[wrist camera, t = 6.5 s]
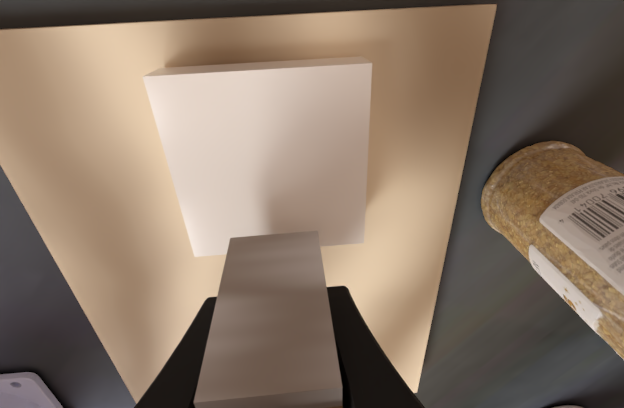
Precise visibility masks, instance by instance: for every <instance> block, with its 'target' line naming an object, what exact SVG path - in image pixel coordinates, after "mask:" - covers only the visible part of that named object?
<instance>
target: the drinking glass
mask: <svg viewBox="0 0 624 408" xmlns="http://www.w3.org/2000/svg"><path fill="white" fill-rule="evenodd" d="M552 408H583V407H580V406H576V405H563V406H557V407H552Z"/></svg>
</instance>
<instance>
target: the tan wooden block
mask: <svg viewBox="0 0 624 408" xmlns="http://www.w3.org/2000/svg"><path fill="white" fill-rule="evenodd" d="M194 405H195V408H343V406H342V381H341V375H340V369H339V362H338V356H337V350H336V344H335V337H334V331H333V325H332V318H331V312H330V306H329V299H328V293H327V287H326V280H325V274H324V268H323V262H322V255H321V249H320V243H319V236H318V231H307V232H295V233H283V234H270V235H258V236H246V237H234V238H230V242H229V246H228V251H227V255H226V259H225V264H224V268H223V273H222V277H221V282H220V286H219V291H218V295H217V300H216V304H215V309H214V313H213V318H212V322H211V327H210V331H209V336H208V340H207V345H206V349H205V354H204V358H203V362H202V367H201V371H200V376H199V380H198V385H197V389H196V394H195V398H194Z"/></svg>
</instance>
